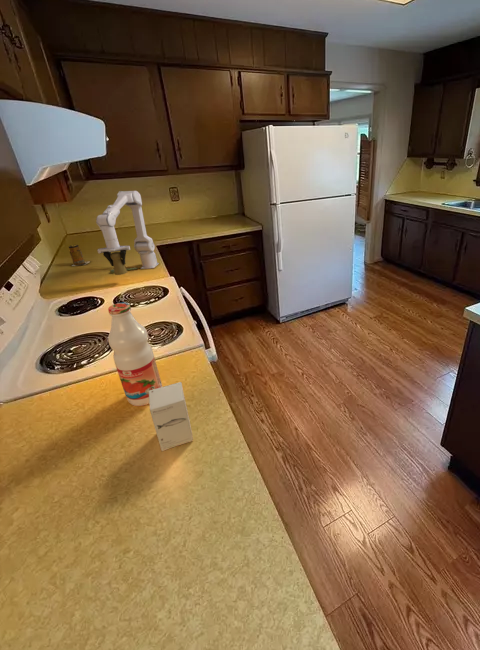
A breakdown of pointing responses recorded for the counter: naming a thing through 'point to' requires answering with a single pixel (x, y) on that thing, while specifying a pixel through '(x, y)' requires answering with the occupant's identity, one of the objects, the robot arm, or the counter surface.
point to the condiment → (77, 255)
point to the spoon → (126, 269)
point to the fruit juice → (132, 355)
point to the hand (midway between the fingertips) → (118, 264)
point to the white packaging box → (170, 416)
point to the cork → (118, 264)
